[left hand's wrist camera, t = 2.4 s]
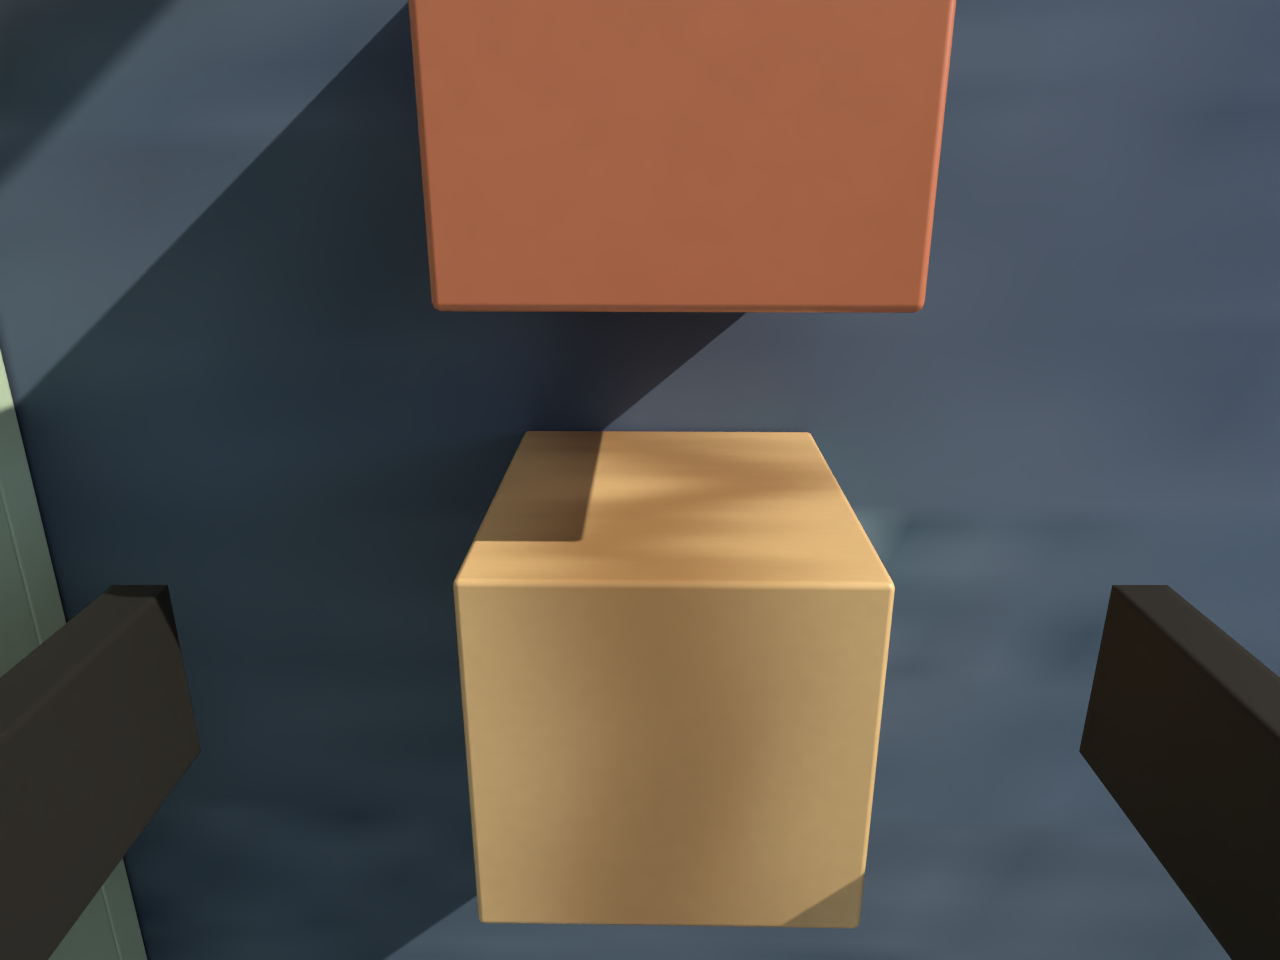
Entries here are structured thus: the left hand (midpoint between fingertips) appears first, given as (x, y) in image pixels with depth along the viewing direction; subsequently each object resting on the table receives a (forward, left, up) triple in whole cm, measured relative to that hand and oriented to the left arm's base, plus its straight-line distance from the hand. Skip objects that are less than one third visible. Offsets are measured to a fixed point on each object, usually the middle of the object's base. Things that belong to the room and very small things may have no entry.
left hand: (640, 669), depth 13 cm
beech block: (0, 0, -4) cm, 4 cm away
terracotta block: (0, -8, -4) cm, 9 cm away
